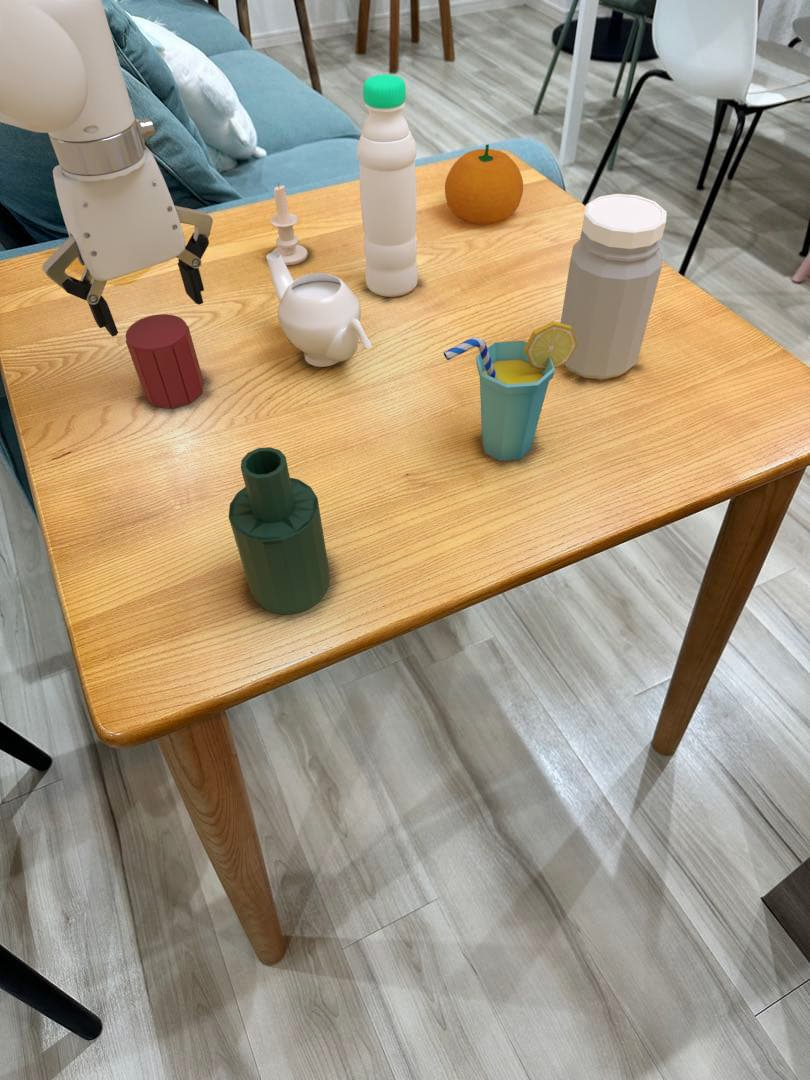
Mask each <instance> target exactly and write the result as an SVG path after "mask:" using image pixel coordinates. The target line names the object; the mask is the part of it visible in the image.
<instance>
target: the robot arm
mask: <svg viewBox="0 0 810 1080" xmlns="http://www.w3.org/2000/svg"><path fill="white" fill-rule="evenodd" d="M0 123H2V124H5V125H9V126H13V127H16V128H20V129H22V130H25V131H30V132H34V133H42V134H48V137H49V140H50V143H51V145H52V148H53V150H54V153H55V156H56V159H57V161H58V165H56V166H54V168H53V169H52V176H53V182H54V188H55V193H56V197H57V201H58V204H59V207H60V212H61V214H62V218H63V222H64V224H65V227H66V231H67V234H68V238H67V239H66V240H65V241H64V242H63V243H62V244H61V245H60V247H58V248H57V249H56V250H55V251H54V252H53V253H52V255H50V256H49V258H47V260H46V261H44V262H43V264H42V266H41V269H42V271H43V272H44V274H45V275H46V277H48V278H49V279H50V280H52V282H54V284H56V285H58V286H59V287H61V288H62V289H63V290H64V291H65V292H66V293H67V294H69V295H72V296H74V297H76V298H79V299H81V300H83V301H86V302H87V305H88V306H89V308H90V311H91V314H92V316H93V319H94V322H95V323H96V325H97V327H98V328H99V329H102V328H105V330H106V331H107V332H108V333H109V334H110V336H111V337H112V338H113V337H116V336H118V335H119V331H118V327H117V325H116V322H115V320H114V317H113V315H112V312H111V309H110V307H109V304H108V302H107V300H106V299H105V297H103V295H102V294H103V292H104V290H105V287H106V285H107V282H108V281H113V280H115V279H119V278H122V277H125V276H127V275H130V274H134V273H137V272H140V271H143V270H145V269H148V268H151V267H155V266H157V265H160V264H163V263H166V262H169V261H172V260H173V259H175V258H177V260H178V262H177V266H178V271H179V273H180V277H181V280H182V284H183V287H184V291H185V293H186V295H187V296H188V297H189V298H190V299H191V300H192V302H193V303H195V304H196V305H198V306H199V305H202V304H204V299H203V295H202V292H204V291H205V287H204V283H203V280H202V276H201V272H200V267H201V266H202V258H203V257H204V254H205V252H206V250H207V249H208V247H209V245H210V239H209V238H210V235H211V231H212V226H213V219H214V218H212V216H211V215H210V214H209V213H207V212H206V211H204V210H198V209H193V208H188V207H184V206H178V205H175V204H174V201H173V198H172V195H171V193H170V191H169V188H168V186H167V183H166V181H165V178H164V176H163V173H162V171H161V169H160V167H159V165H158V163H157V161H156V159H155V157H154V155H153V152H151V150H150V149H149V148H148V147H147V146H146V139H148V138H149V137H151V136H154V135H155V134H156V129H155V126H154V124H153V122H152V120H151V119H150V118H146V119H145V118H144V119H142V118H137V117H136V116H135V114H134V110H133V107H132V103H131V99H130V96H129V92H128V89H127V85H126V81H125V79H124V75H123V71H122V68H121V64H120V60H119V56H118V53H117V50H116V46H115V43H114V40H113V36H112V32H111V28H110V24H109V22H108V19H107V14H106V12H105V9H104V5H103V2H102V0H0ZM182 224H184V225H190V226H194V229H193V230H194V232H192V234H191V236H190V237H189V240H188V241H187V243H186V239H185V234H184V230H183V226H182ZM76 259H77V260H78V261H79V263H80V265H81V266H85V267H84V270H83V272H82V274H81V277H80V279H78V278H75V277H73V276H70V275H69V274H67V273H66V270H67V268H69V267H70V265H72V263H73V262H74V261H75V260H76Z"/></svg>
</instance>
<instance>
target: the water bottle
mask: <svg viewBox="0 0 810 1080" xmlns="http://www.w3.org/2000/svg"><path fill="white" fill-rule="evenodd" d="M406 89H407V88H406V83H405V81H404V79H403V78H401V77H400V76H397V75H394V74H386V73H384V74H376V75H372V76H370V77H368V78H367V79H366V80H365V81H364V83H363V86H362V97H363V102H364V107H365V108H366V109H367V111H368V115H367V118H366V120H365V121H364V124H363V127H362V131H361V134H360V137H359V139H358V142H357V148H356V154H357V159H358V161H359V198H360V211H361V222H362V229H363V233H364V235H363V254H364V258H365V267H364V268H365V269H364V271H365V272H364V275H365V276H364V277H365V283H366V284H365V285H366V287H367V288H368V289H369V290H370V291H371V292H372V293H373V294H375V295H378V296H381V297H387V298H397V297H401V296H404V295H407V294H409V293H411V292H412V291H413V290H414V289H415V288H416V287H417V285H418V282H419V281H418V280H419V272H418V261H417V257H418V238H417V233H416V232H417V231H416V230H417V218H418V217H417V216H418V215H417V214H418V189H417V185H418V183H417V171H416V161H415V160H416V157H417V143H416V141H415V138H414V136H413V133H412V131H411V130H410V128H409V127H410V126H409V124H408V121H407V120H406V118H405V117H404V115H403V108H404V107H405V105H406V97H407V95H406V94H407V91H406Z"/></svg>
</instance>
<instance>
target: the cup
mask: <svg viewBox="0 0 810 1080" xmlns="http://www.w3.org/2000/svg"><path fill="white" fill-rule="evenodd" d="M577 345H578V344H577V341H576V338H575V335H574V332H573V329H572V327H571V326H569V325H566V324H562V323H561V322H558V321H554V320H552V321H550V322H548V323H546V324H544V325H542V326H540V327H538V328H536V329H533V330H532V332H531V334H530V336H529V338H528V339H527V341H525V340H511V341H510V340H509V341H498V342H497V341H496V342H493V343H492V344H491V345H489V346H487V343H486V341H485V340H484V339H482V338H479V337H475V336H472V337H470V338H468V339H466V340H465V341H462V342H461V343H459V344H457V345H455V346H452V347H451V348H449V349H447V350H445V351H443V357H444V358H445V359H446V360H447V361H450V360H452V359H454V358H456V357H458V356H460V355H462V354H464V353H466V352H468V351H470V350H472V349H474V348H478V351H479V354H477V356H475V360H476V362H475V363H476V369H477V372H478V377H479V393H480V395H479V396H480V397H479V399H480V422H481V425H480V426H481V441H482V442H481V443H482V446H483V451H484V454H486V455H488V456H490V457H491V458H494V459H495V460H497V461H499V462H510V461H512V462H513V461H521V460H522V459H523V458H524V457H525V456H526V455H527V454H528V453H529V452H530V451H531V450H532V448H533V443H534V439H535V436H536V431H537V428H538V424H539V421H540V418H541V417H540V416H541V413H542V409H543V405H544V401H545V398H546V395H547V390H548V386H549V383H550V381H551V380H552V379H553V378H554V376H555V372H556V369H557V368H560V367H562V366H563V365H564V364H565V363H568V361H569V359H570V358H571V356H572V354H573V352H574V351H575V349H576V347H577Z"/></svg>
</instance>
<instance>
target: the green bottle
mask: <svg viewBox="0 0 810 1080" xmlns="http://www.w3.org/2000/svg"><path fill="white" fill-rule="evenodd" d="M240 470H241V471H240V472H241V475H242V479H243V482H244V487H243V488H241V490H239V491H237V493H236V494H235V495H234V498H233V499H232V501H231V502H230V503H229V510H228V520H229V523H230V527H231V531H232V534H233V537H234V541H235V544H236V547H237V550H238V554H239V557H240V561H241V564H242V568H243V570H244V571H243V572H244V574H245V578H246V581H247V583H248V589H249V590H250V592H251V595H252V597H253V599H254V601H255V602H256V603H257V605H258V606H260V607H261V608H263V609H264V610H266V611H268V612H270V613H273V614H279V615H294V614H298V613H302V612H305V611H307V610H309V609H311V608H313V607H314V606H316V605H317V604H318V603H320V601H321V600H323V598H324V597H325V595H326V594H327V592H328V589H329V587H330V579H331V578H330V568H329V567H330V566H329V561H328V554H327V549H326V548H327V547H326V542H325V535H324V529H323V523H322V517H321V511H320V505H319V498H318V496H317V494H316V493H315V491H314V490H313V488H312V486H311V485H309V484H307V483H306V482H304V481H302V480H301V479H299V478H295V477H294V478H293V477H290V476H291V475H290V472H289V467H288V462H287V457H286V455H285V454H284V453H283V452H282V451H281V450H280V449H277V448H274V447H272V446H270V447H269V446H267V447H266V446H265V447H258V448H255V449H253V450H251V451H249V452H246V454H245V455H244V456H243V458H242V459H241V462H240Z"/></svg>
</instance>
